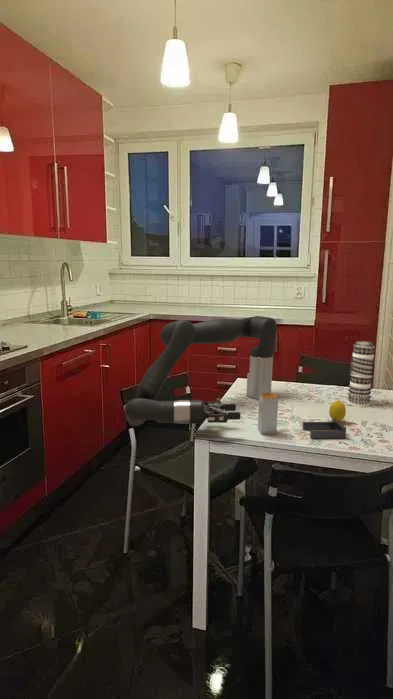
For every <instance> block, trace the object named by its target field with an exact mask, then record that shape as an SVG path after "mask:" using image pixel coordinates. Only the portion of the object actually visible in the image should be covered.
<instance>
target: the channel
mask: <svg viewBox="0 0 393 699" xmlns="http://www.w3.org/2000/svg"><path fill="white" fill-rule="evenodd" d="M301 428H302V430H303V431H310V432H309V438H310V439H311V440H330V439H331V440H332V439H333V440H336V439H337V440H341V439H346V438H347V437H346V436H347V427H346V426H344V425H343V424H342V422H340V421H338V420H337V419H332V418H331V421H302V427H301Z"/></svg>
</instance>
